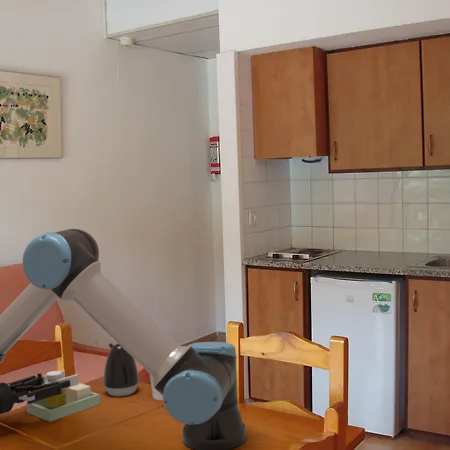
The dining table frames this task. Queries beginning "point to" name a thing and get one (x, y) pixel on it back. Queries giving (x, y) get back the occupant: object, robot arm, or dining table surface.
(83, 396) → the off-white upright cuboid
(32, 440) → the dining table surface
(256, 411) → the dining table surface
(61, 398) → the supplement bottle
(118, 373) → the pump dispenser
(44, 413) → the tray
